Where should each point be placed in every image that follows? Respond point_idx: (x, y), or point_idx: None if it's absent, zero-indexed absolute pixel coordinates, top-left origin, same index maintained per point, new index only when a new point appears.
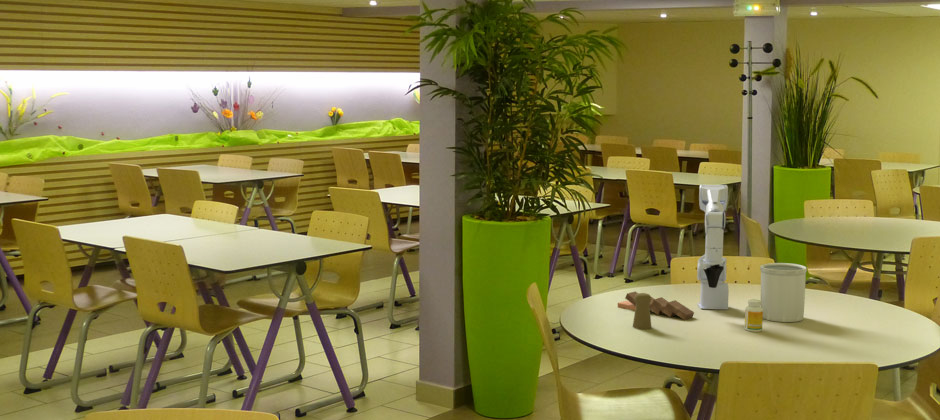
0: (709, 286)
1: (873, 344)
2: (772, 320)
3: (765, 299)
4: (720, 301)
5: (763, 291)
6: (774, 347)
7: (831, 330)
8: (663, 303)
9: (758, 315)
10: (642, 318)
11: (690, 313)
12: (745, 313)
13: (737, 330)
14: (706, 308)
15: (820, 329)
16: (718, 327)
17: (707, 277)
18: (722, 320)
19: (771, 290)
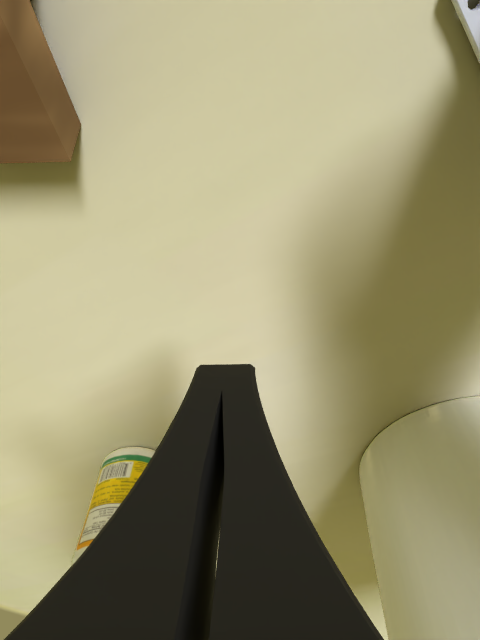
0: (195, 379)
1: None
2: (360, 462)
3: (399, 542)
4: None
5: (429, 586)
6: (8, 552)
7: (345, 573)
8: None
9: None
10: None
11: (3, 160)
12: (87, 527)
13: (73, 437)
14: (469, 40)
15: (336, 559)
16: (33, 370)
17: (137, 491)
18: (190, 318)
19: (395, 635)
